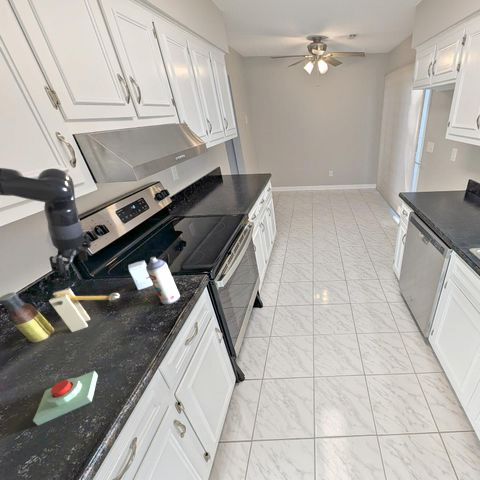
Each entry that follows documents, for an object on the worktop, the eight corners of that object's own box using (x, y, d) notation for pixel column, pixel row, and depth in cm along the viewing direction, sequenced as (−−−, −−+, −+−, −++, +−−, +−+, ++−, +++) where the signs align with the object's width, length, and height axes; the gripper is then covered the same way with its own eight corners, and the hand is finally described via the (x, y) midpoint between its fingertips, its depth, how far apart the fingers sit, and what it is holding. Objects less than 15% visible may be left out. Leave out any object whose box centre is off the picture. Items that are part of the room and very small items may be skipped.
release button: (73, 381, 70) (70, 377, 69) (70, 392, 67) (66, 388, 66) (56, 388, 68) (53, 384, 68) (52, 400, 66) (48, 396, 65)
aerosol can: (158, 300, 104) (139, 259, 94) (175, 291, 108) (158, 251, 99) (165, 307, 100) (145, 265, 90) (182, 297, 104) (165, 256, 95)
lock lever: (120, 298, 97) (121, 290, 96) (119, 304, 94) (120, 296, 94) (58, 299, 87) (58, 290, 86) (54, 306, 85) (55, 296, 84)
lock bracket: (100, 315, 98) (79, 283, 90) (96, 329, 92) (73, 295, 84) (70, 325, 94) (46, 292, 87) (64, 340, 88) (37, 306, 81)
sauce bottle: (48, 330, 93) (14, 287, 83) (61, 332, 92) (28, 289, 82) (27, 345, 87) (-13, 301, 78) (40, 347, 86) (2, 303, 77)
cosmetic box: (139, 292, 109) (127, 269, 104) (138, 287, 113) (127, 264, 107) (155, 286, 112) (144, 264, 106) (154, 282, 116) (144, 259, 110)
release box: (98, 375, 75) (91, 366, 73) (91, 401, 68) (84, 393, 66) (49, 395, 71) (41, 386, 69) (37, 425, 64) (28, 417, 62)
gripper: (69, 216, 85) (77, 252, 94) (33, 241, 74) (46, 280, 82) (94, 222, 87) (100, 257, 96) (63, 247, 76) (73, 284, 84)
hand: (75, 267), depth 89 cm, fingers open, 8 cm apart
